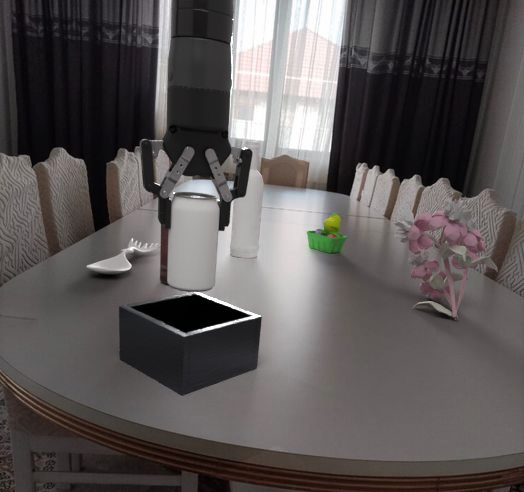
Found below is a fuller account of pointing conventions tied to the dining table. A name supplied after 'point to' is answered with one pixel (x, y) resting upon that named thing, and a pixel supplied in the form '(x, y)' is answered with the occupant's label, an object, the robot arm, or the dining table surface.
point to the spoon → (121, 259)
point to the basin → (189, 340)
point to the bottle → (248, 212)
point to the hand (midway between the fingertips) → (193, 228)
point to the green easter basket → (327, 236)
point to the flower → (443, 251)
